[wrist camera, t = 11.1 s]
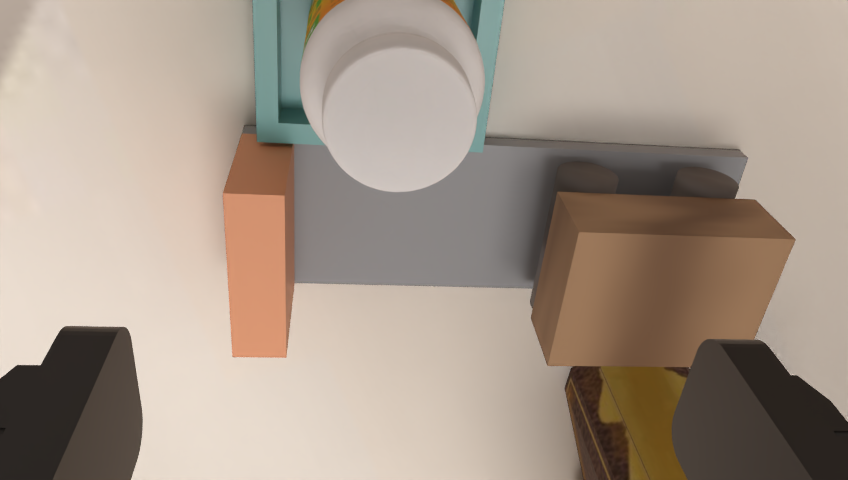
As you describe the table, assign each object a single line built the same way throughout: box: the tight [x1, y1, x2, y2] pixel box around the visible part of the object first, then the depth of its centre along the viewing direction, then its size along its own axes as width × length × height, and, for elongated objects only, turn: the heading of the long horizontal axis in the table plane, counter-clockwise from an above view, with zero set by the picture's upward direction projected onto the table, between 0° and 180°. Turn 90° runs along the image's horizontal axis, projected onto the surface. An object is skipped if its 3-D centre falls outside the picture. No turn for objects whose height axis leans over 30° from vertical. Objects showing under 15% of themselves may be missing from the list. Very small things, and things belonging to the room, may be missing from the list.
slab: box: [530, 161, 796, 367], centre depth 29 cm, size 8×6×5 cm
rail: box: [223, 125, 748, 358], centre depth 29 cm, size 21×7×6 cm, turn 85°
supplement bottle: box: [300, 0, 485, 192], centre depth 22 cm, size 5×5×10 cm
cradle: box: [252, 0, 505, 153], centre depth 26 cm, size 9×9×2 cm
